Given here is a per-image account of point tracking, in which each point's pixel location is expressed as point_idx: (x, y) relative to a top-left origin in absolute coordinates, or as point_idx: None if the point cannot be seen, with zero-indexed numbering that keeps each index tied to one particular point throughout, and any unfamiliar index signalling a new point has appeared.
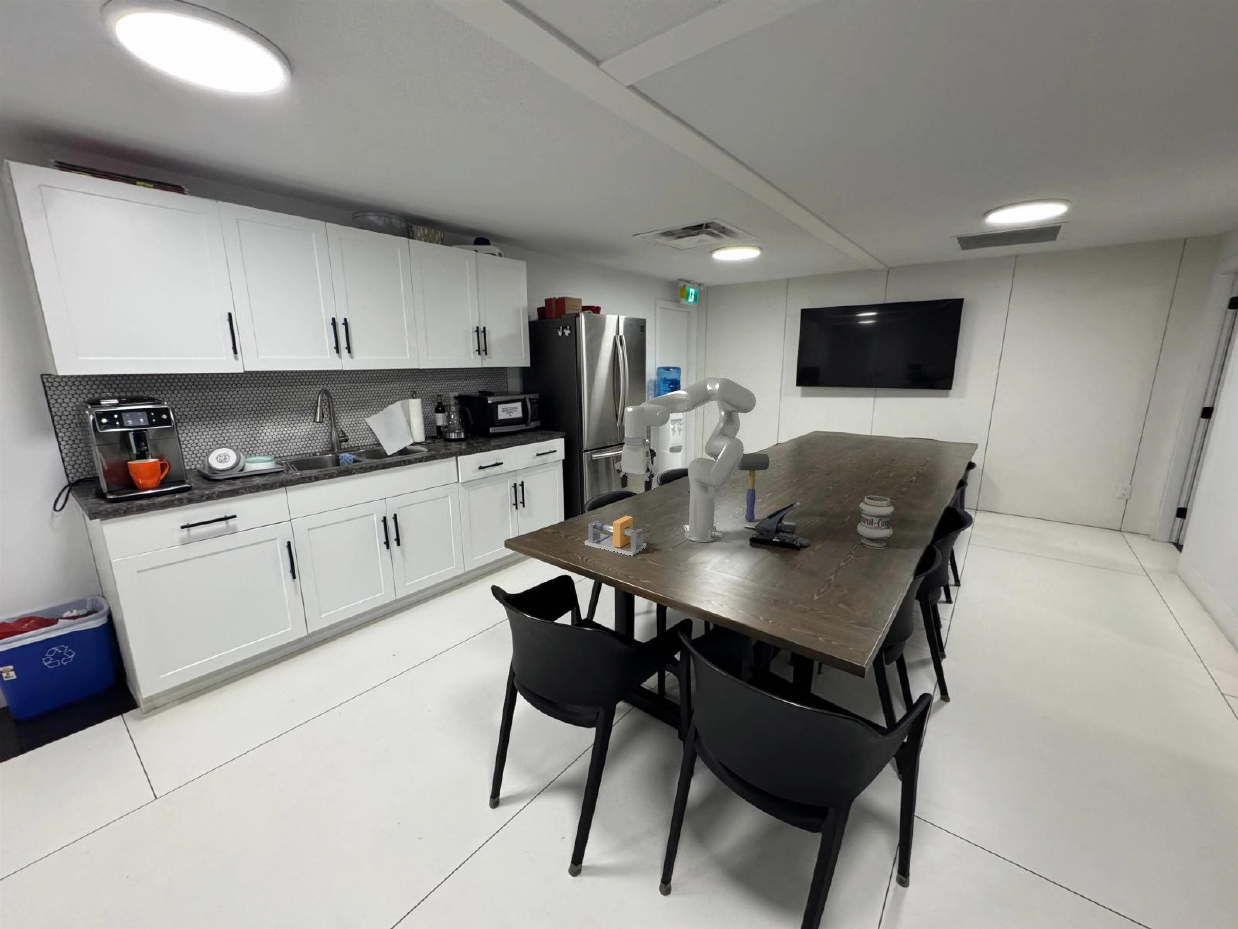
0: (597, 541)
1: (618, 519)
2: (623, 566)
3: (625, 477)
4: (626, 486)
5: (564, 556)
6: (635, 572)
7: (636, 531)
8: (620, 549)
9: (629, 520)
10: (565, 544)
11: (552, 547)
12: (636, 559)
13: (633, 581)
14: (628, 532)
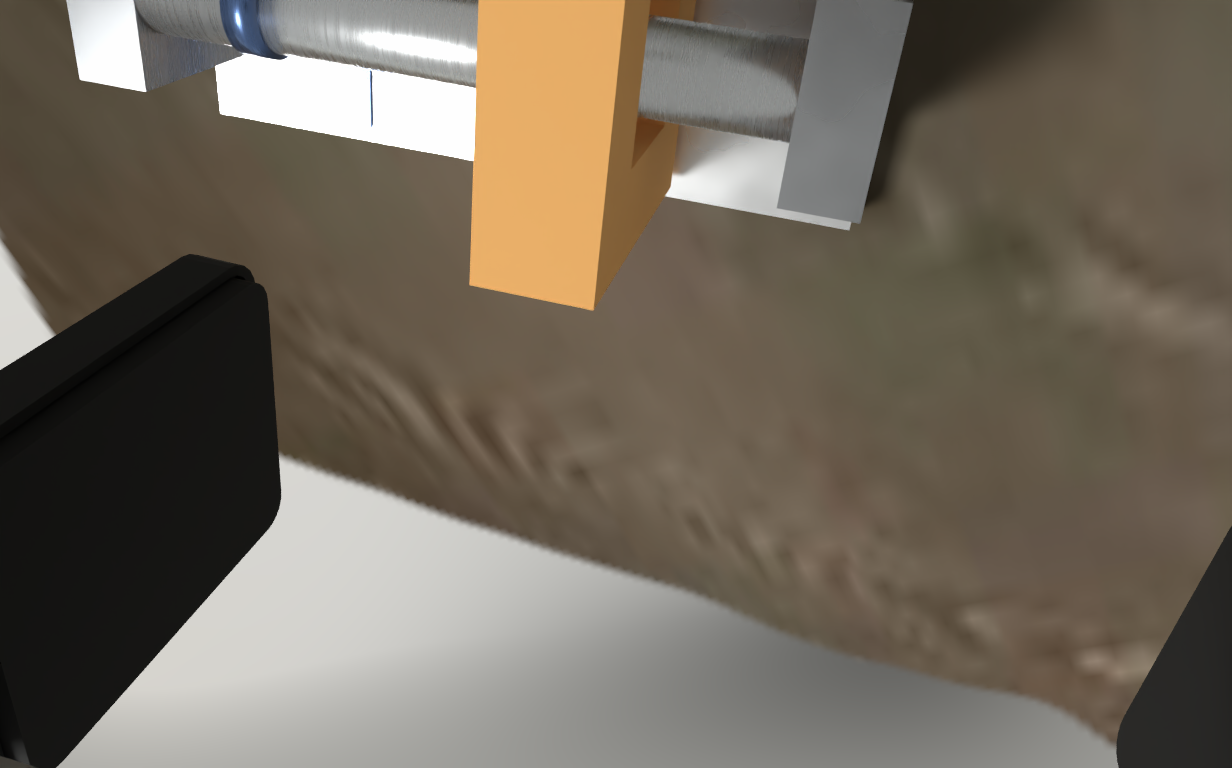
0: (341, 74)
1: (476, 129)
2: (851, 464)
3: (8, 622)
4: (261, 336)
5: (285, 415)
6: (1003, 546)
7: (838, 135)
8: (688, 199)
9: (632, 2)
10: (95, 162)
11: (67, 273)
12: (924, 277)
13: (1033, 687)
14: (710, 128)
